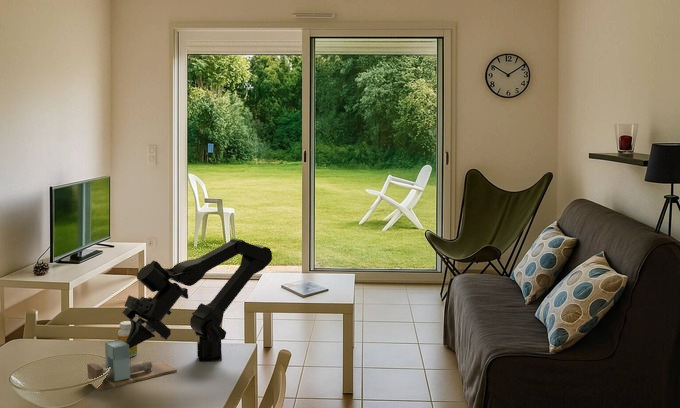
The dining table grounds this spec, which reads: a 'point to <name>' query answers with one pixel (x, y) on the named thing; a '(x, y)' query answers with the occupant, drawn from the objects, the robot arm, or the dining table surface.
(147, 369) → the pipe rig
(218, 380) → the dining table surface
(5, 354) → the dining table surface
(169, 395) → the dining table surface
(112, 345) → the light blue upright block
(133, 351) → the supplement bottle
